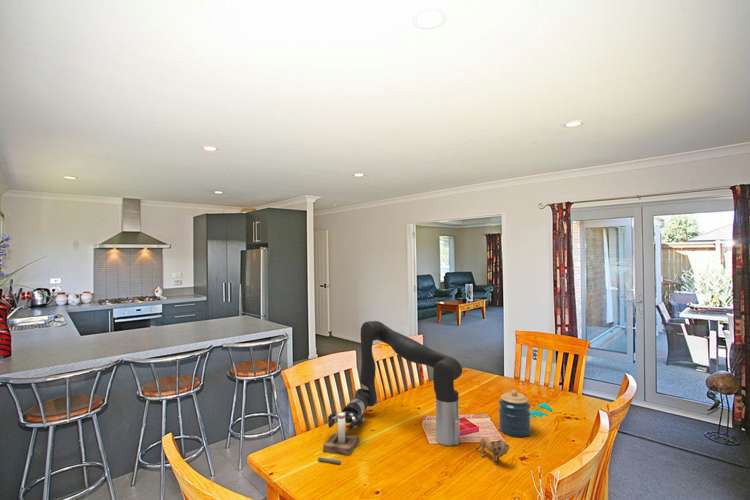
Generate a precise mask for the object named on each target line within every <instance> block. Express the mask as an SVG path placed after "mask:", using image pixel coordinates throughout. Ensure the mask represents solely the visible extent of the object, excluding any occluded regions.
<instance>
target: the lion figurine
mask: <svg viewBox="0 0 750 500" xmlns="http://www.w3.org/2000/svg"><path fill="white" fill-rule="evenodd" d="M485 448H486V450H487V451H488V452H489V453H491V454H492V461H493V465H494V466H497V465H498V463H501V462H502V459H501V460H500V458H502V457H503V456H504V455H507V453H508V452H509V449H510V448H511V445H510V444H508V443H507V441H506V440H505V439H499V440H495V441H494V440H493V441H491V440H490V439H489V438H488V437H487V436H482V437H481V439H480V442H479V445H478V447H475V450H476V451H478V450H480V449H481V450H480V453H481V454H480V457H482V458H485V454H484V453H486V450H485Z"/></svg>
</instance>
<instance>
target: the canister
mask: <svg viewBox="0 0 750 500" xmlns="http://www.w3.org/2000/svg"><path fill="white" fill-rule="evenodd" d="M498 404H499V408H498V413H499V414H498V417H499V418H498V419H499V420H498V421H499V422H498V427H499V430H500V431H501V433H502V434H505V435H507V436H510V437H514V438H525V437H528V436H529V435H531V431H532V427H531V418H530V417H531V416H530V415H531V413H530V411H531V410H530V408H531V404H530V403H529V398H528V397H526V396H525V395H524V394H522V393H520V392H518V391H517V390H516V389H512V390H511V391H507V392H505V393H503V394H501V395H500V399H499V400H498Z"/></svg>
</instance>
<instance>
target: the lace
mask: <svg viewBox="0 0 750 500" xmlns="http://www.w3.org/2000/svg"><path fill="white" fill-rule="evenodd" d="M317 461H319V462H325V463H331V464H335V465H336V464H337V465H341V464H342V461H341V460H339V459H333V458H329V457H327V458H326V457H320V456H319V457H318V458H317Z"/></svg>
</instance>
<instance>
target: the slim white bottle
mask: <svg viewBox="0 0 750 500" xmlns="http://www.w3.org/2000/svg"><path fill="white" fill-rule="evenodd" d="M337 414H338V423H337V433H338V442H337V444H342V445H346V443H345V434H346V422H345V413H343V412H342V411H341V412H338V413H337Z"/></svg>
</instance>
